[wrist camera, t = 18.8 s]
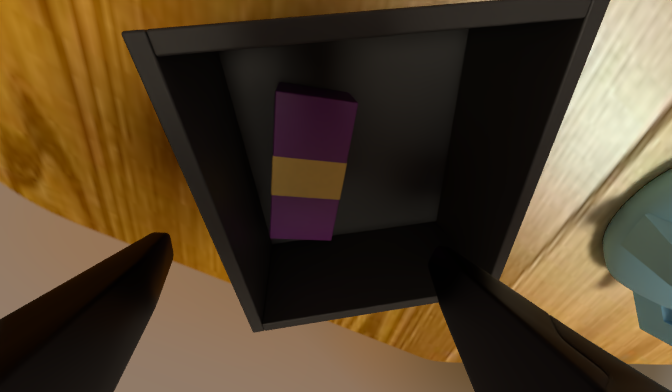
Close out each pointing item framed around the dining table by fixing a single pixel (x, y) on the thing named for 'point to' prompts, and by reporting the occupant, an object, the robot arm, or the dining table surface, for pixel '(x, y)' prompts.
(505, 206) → the waste bin
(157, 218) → the dining table surface
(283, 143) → the chocolate bar
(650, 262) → the teakettle
